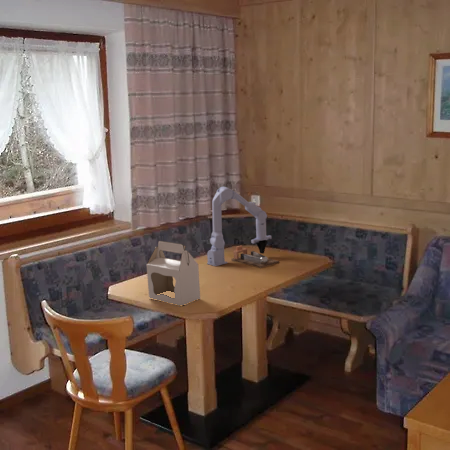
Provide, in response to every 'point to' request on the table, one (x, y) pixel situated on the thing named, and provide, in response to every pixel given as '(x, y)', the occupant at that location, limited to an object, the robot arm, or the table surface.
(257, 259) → the base
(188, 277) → the gable box
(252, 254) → the tongs arm
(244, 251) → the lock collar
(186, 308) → the table surface
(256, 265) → the walnut board
